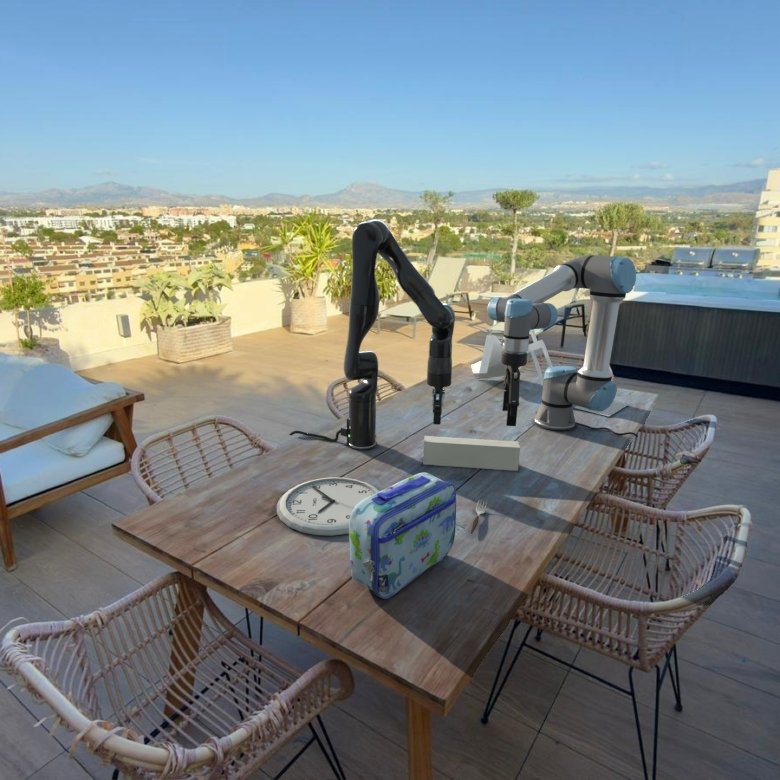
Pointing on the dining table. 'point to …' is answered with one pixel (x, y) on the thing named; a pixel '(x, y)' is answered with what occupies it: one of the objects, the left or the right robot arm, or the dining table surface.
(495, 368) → the white plastic object
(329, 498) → the wall clock
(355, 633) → the dining table surface
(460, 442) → the beam
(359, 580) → the lunch box
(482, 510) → the fork
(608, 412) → the invitation card
